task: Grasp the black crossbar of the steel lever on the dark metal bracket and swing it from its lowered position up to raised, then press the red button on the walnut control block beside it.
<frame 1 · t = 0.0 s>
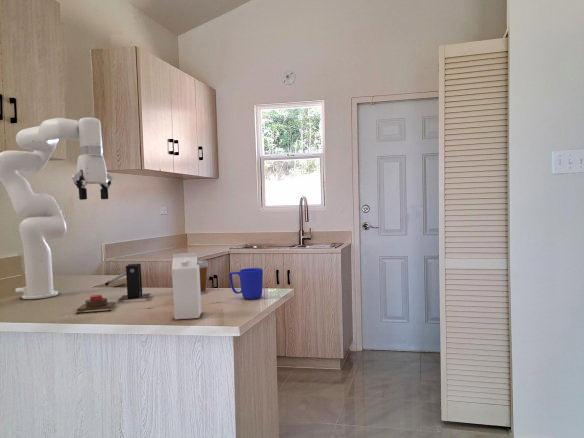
hand: (94, 199, 171), 37 cm above the countertop, tool pointing down, fingers open, 9 cm apart
button block: (96, 310, 155), on the countertop
bracket: (135, 299, 171), on the countertop
button: (96, 298, 155), point 4 cm above the countertop, slide at 0.1 cm
lever: (122, 275, 170), point 9 cm above the countertop, hinge at -25.0°
mug: (247, 298, 164), on the countertop
disposable coffee cup: (197, 293, 178), on the countertop
milk carton: (188, 317, 140), on the countertop
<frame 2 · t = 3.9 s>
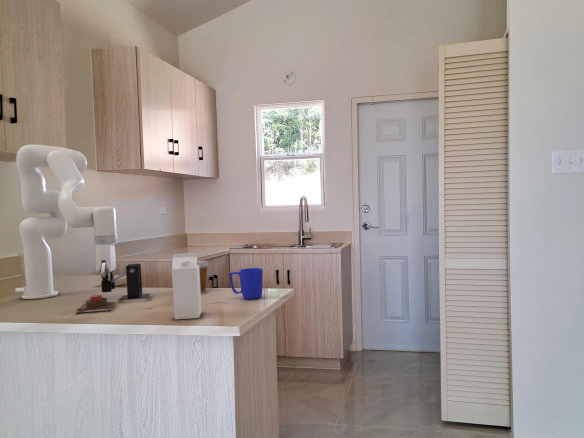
hand: (108, 290, 169), 4 cm above the countertop, tool pointing down, fingers closed on lever, 5 cm apart
lever: (122, 275, 170), point 9 cm above the countertop, hinge at -25.0°, touching gripper
everything else where it was.
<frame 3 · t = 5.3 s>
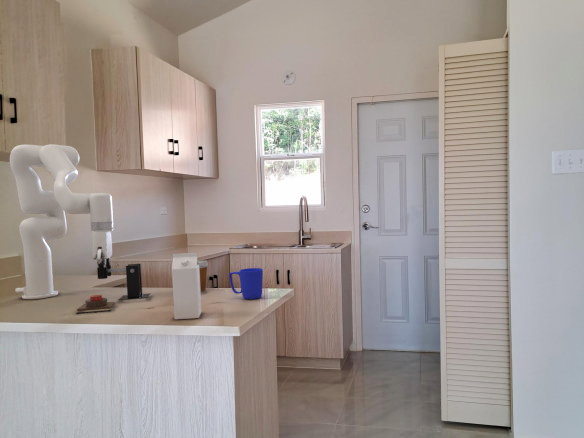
hand: (104, 276, 169), 9 cm above the countertop, tool pointing down, fingers closed on lever, 5 cm apart
lever: (120, 270, 169), point 11 cm above the countertop, hinge at 1.8°, touching gripper
everything else where it was.
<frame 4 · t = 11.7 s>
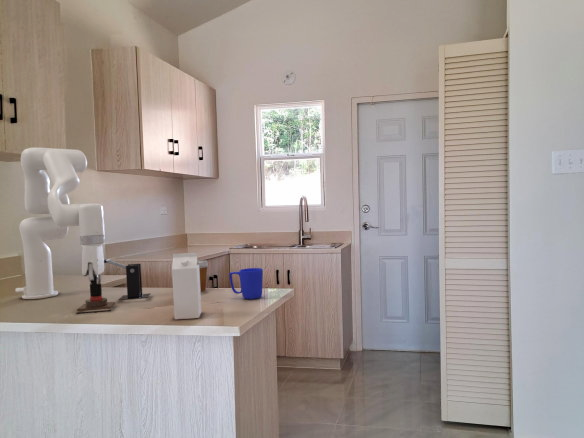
hand: (96, 295, 155), 5 cm above the countertop, tool pointing down, fingers closed
button: (96, 298, 155), point 4 cm above the countertop, slide at 0.0 cm, touching gripper
lever: (121, 265, 169), point 13 cm above the countertop, hinge at 22.7°
everything else where it was.
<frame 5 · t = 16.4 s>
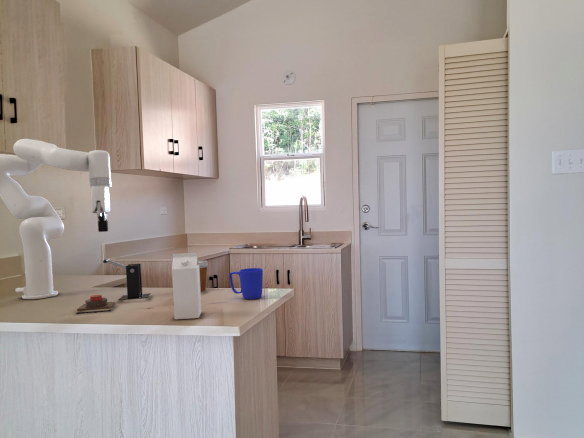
hand: (103, 231, 178), 25 cm above the countertop, tool pointing down, fingers closed
button: (96, 298, 155), point 4 cm above the countertop, slide at 0.1 cm
everything else where it was.
at the end: lever at +23° (first picture: -25°); button pushed in 1.1 cm at the most during the clip and back out by the end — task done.
